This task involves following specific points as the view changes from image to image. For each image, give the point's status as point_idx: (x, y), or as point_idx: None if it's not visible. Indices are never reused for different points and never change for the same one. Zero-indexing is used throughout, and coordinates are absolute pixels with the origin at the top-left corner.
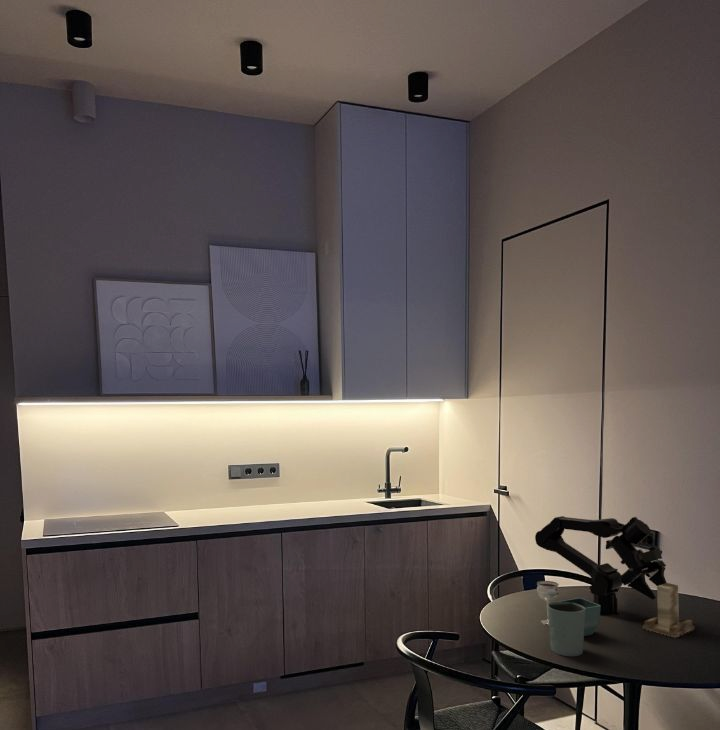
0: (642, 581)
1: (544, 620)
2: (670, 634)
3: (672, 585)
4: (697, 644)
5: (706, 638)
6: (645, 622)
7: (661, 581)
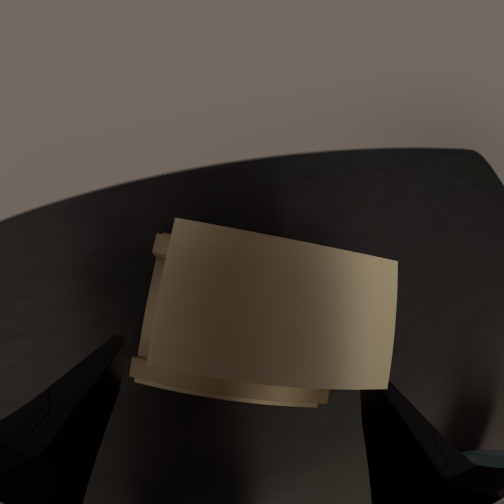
0: (479, 465)
1: None
2: None
3: (237, 265)
4: (335, 192)
5: (249, 179)
6: (325, 398)
7: (75, 434)
